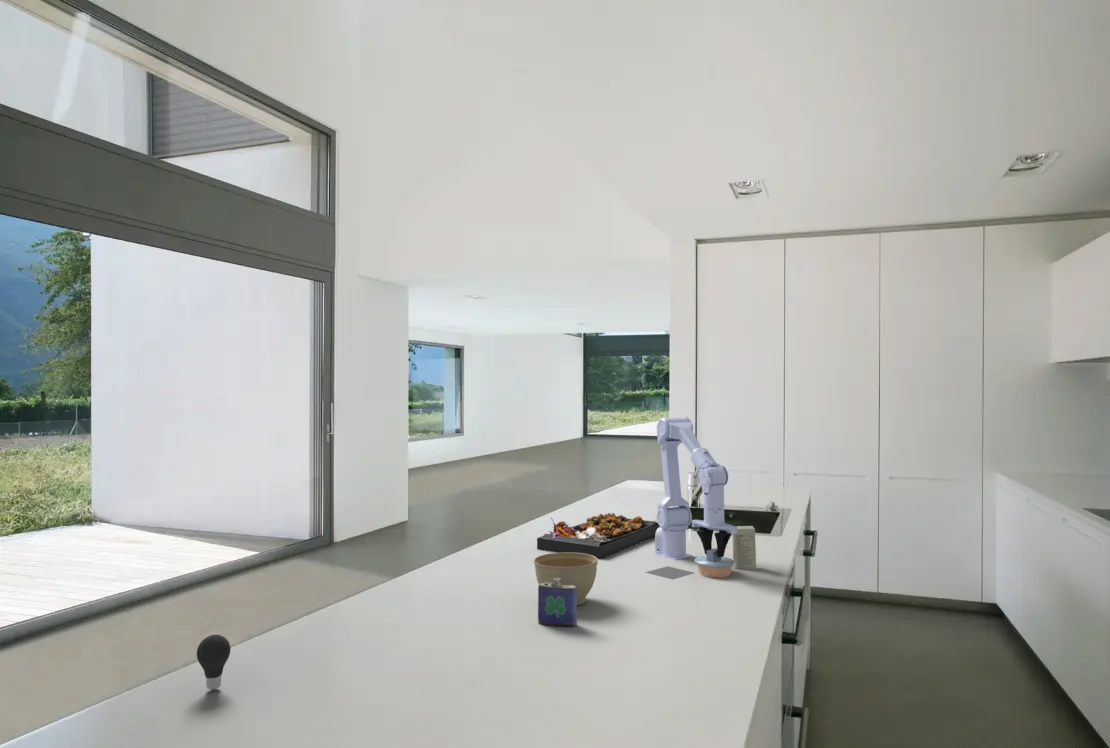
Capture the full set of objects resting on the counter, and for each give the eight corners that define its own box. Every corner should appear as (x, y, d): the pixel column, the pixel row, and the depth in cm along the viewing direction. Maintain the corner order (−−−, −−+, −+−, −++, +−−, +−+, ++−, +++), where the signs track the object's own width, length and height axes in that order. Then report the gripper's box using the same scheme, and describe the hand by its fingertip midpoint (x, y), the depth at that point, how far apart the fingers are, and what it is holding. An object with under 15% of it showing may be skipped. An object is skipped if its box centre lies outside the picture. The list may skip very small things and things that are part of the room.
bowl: (692, 574, 211) (692, 562, 211) (710, 568, 217) (710, 556, 217) (718, 580, 204) (718, 568, 204) (736, 574, 210) (736, 562, 210)
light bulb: (203, 684, 136) (203, 630, 136) (235, 683, 136) (234, 629, 136) (191, 697, 130) (191, 641, 130) (224, 696, 131) (223, 640, 131)
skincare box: (754, 566, 219) (753, 525, 219) (756, 570, 214) (756, 528, 215) (732, 566, 219) (731, 525, 219) (734, 569, 215) (733, 528, 215)
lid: (686, 562, 211) (686, 549, 211) (709, 555, 218) (709, 543, 218) (718, 569, 202) (718, 556, 203) (741, 562, 210) (741, 550, 210)
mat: (645, 573, 211) (645, 572, 211) (667, 567, 218) (667, 566, 218) (672, 580, 204) (672, 579, 204) (694, 574, 211) (694, 572, 211)
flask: (578, 624, 168) (577, 577, 168) (574, 628, 165) (574, 581, 166) (539, 620, 171) (539, 574, 171) (536, 624, 168) (535, 578, 168)
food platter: (600, 561, 229) (600, 528, 229) (537, 551, 243) (536, 520, 243) (664, 535, 266) (663, 506, 266) (605, 527, 280) (605, 500, 280)
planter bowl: (607, 597, 189) (606, 555, 189) (583, 615, 174) (582, 569, 174) (550, 589, 196) (550, 549, 196) (523, 607, 181) (522, 563, 181)
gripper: (685, 506, 213) (685, 553, 213) (727, 513, 202) (727, 562, 202) (699, 503, 218) (700, 549, 218) (741, 510, 207) (742, 558, 207)
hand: (714, 555), depth 210 cm, fingers open, 4 cm apart
